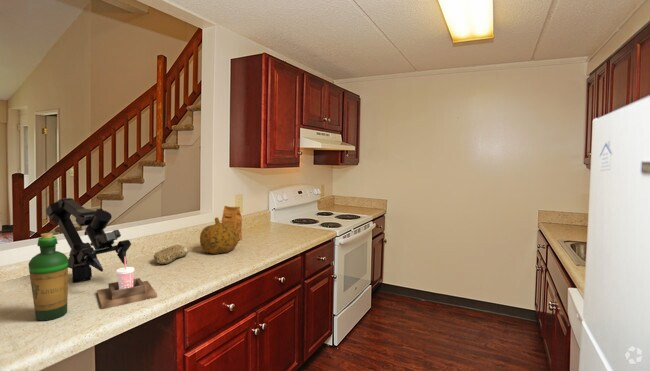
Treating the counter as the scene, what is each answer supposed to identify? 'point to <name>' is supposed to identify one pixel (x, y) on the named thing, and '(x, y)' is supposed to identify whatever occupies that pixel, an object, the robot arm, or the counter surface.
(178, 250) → the tan rounded lump
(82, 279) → the robot arm
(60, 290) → the bottle
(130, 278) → the beverage cup
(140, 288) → the cup holder
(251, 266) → the counter surface
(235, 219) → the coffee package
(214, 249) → the decorative pumpkin
